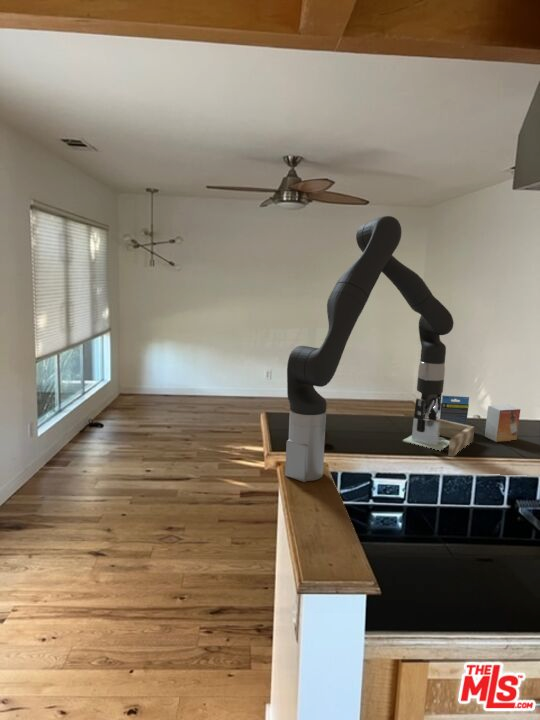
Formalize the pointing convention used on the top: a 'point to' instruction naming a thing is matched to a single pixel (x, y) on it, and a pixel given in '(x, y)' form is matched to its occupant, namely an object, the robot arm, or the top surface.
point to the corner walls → (456, 435)
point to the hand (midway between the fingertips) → (426, 428)
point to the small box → (502, 423)
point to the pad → (440, 447)
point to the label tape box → (454, 409)
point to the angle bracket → (428, 433)
